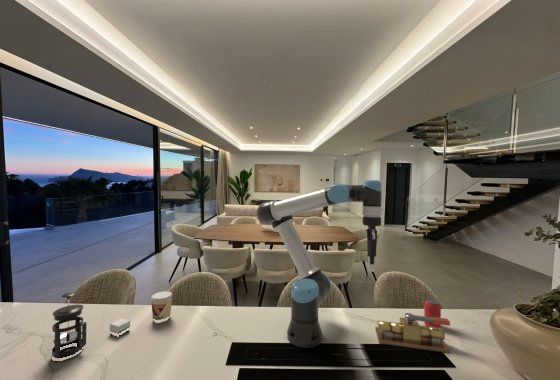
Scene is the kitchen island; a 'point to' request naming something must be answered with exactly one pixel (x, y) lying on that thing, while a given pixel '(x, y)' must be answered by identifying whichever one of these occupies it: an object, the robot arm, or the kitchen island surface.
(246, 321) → the kitchen island surface
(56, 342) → the french press
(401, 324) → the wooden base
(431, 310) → the beer can
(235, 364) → the kitchen island surface
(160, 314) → the coffee cup
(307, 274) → the robot arm
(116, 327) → the small box
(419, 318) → the lever
